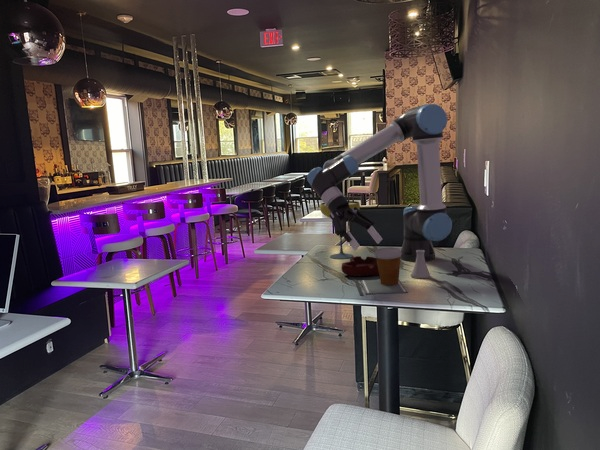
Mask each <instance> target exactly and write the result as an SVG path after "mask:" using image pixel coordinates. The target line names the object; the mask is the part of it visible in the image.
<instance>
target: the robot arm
mask: <svg viewBox="0 0 600 450" xmlns="http://www.w3.org/2000/svg"><path fill="white" fill-rule="evenodd" d="M447 115H448V114H447V113H446V111H445V109H444V108H442V106H441V105H438V104H435V103H427V104H423V105H420V106H416V107H412V108H409V109H408V110H407V111H405V112H404V113H403V114H401V115H399V116H398V117H397V118H395V119H393V120H392V121H390V123H389V125H388V126H386V127H384V128H383V129H382V130H381V129H380V130H379V131H378V132H376V133H374V134H373V135H371V136H370V137H367V138H366V139H364V140H363V141H361V142H359V143H356V145H354V146H352V147H351V148H349V149H347V150H346V151H344V152H342V153H340V154H338V155H337V156H336V157H334V158H332V159H328V160H327V161H325V162H324V164H323V166H322V167H320V166H317V167H314V168H313V169H312V168H311V170H310V171H309V172H308V174H307V177H306V181H307V182H308V184H309V185H310V187H311V188H312V189H313V190H314V193H316V194H317V196H318V197H319V198H320V199H321V200H322V203H325V205H326V206H327V207H328V209H329V210H330V211H331V215H330V217H331V218H330V219H331V220H332V221H331V222H332V224H333V227H334V231H335V232H334V233H335V234H336V236H339V238H340V237H341V238H342V239H343V238H344V239H345V241H346V243H348V244H349V246H350V247H351V248H352V249H353V251H354V252H355V251H357V250H358V248H359V247H361V246H360V243H358V241H357V240H356V238H355V237H354V236H353V235H352V233H351V232H350V231H349V230H347V229H348V225H347V223H348V222H352V223H356V224H357V225H359V226H361V227H363V228H365V229H367V230H366V231H367V233H368V234H369V235H370V236H371V237H372V239H373V240H374V241H375V243H376V244H378V245H379V244H380V242H382V240H383V238H382V236H381V235H380V234H379V232H378V231H377V230H376V228H375V227H374V225H375V224H376V222H375V221H374V220H373V219H371V218H370V217H368V216H367V215H366V214H364V213H363V212H362V211H361V210H358V209H357V208H356V207H354V209H351V208H350V207H349V202H348V201H349V200H348V199H347V198H346V197H345V196H344V195H343V193H342V191H341V190H340V189H339V188H338V186H337V185H338V184H340V183H343V181H345V180H346V179H348V178H349V177H351V176H353V175H354V174H356V173H357V172H358V171H359V168H360V167H359V165H360V164H362V163H364V162H365V161H367V160H369V159H370V158H373V157H374V156H375V155H378V154H379V153H381V152H382V151H384V150H386V149H387V148H389V147H391V146H393V145H395V144H396V143H397V142H399V143H400V142H401V143H402V142H405V141H406V140H407V139H411V138H412V142H413V143H414V144H415V145H416V152H417V153H416V154H417V157H416V158H417V170H418V172H417V173H418V188H419V204H418V206H406V207H405V208H403V215H402V217H403V242H402V246H401V248H400V252H401V253H402V254H401V256H400V260H403V261H409V262H416V258H417V252H416V250H424V251H425V252H424V258H425V262H429V261H433V260H435V259H436V251H435V249H434V246H433V242H440V241H442V240H444V239H446V238H447V237H448V236H449V235H450V233H451V232H452V229H453V222H452V218H451V217H450V216H449V215H448V214H447V206H446V205H445V204H444V203H443V197H442V178H441V177H442V175H441V160H440V159H441V157H440V142H441V141H442V140H443V138H444V136H443V133H444V132H443V131H444V130H445V128H446V127H447V126H448V116H447ZM432 241H433V242H432Z"/></svg>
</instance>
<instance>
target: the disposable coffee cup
mask: <svg viewBox="0 0 600 450" xmlns="http://www.w3.org/2000/svg"><path fill="white" fill-rule="evenodd" d="M401 254H402V253H401V248H398V247H380V248H377V249H375V252H374V258H376V260H377V265H378V271H379V275H378V276H379V280H380V281H381V284H383V285H395V284H398V283H399V280H400V266H401V258H400V256H401Z"/></svg>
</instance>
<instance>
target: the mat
mask: <svg viewBox="0 0 600 450" xmlns="http://www.w3.org/2000/svg"><path fill="white" fill-rule="evenodd" d="M360 283H361V286H362V288H363V291H364V293H365V295H386V294H408V293H409V291H408V290H407V289H406V288H405V286H404V284H403V283H402V282H401V280H400V279H399V283H398V284H395V285H383V284H381V281H380V279H369V280H365V279H363V280H360Z"/></svg>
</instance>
